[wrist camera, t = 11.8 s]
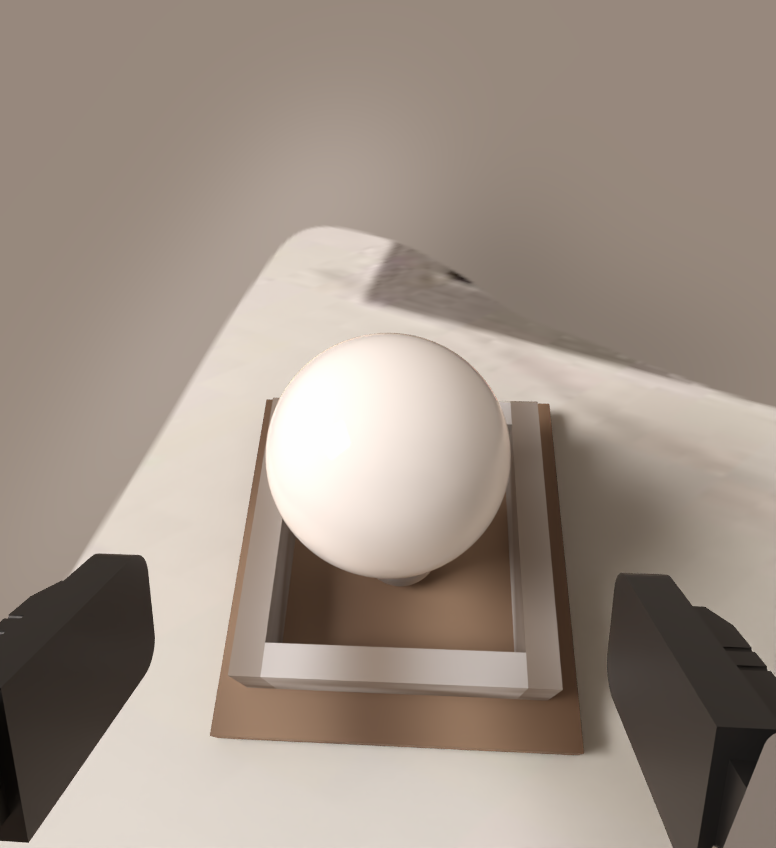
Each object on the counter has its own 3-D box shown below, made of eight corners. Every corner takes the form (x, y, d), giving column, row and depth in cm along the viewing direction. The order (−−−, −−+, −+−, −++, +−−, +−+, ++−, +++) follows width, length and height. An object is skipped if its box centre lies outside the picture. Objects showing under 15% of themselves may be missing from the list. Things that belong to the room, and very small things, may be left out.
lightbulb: (454, 674, 21) (471, 566, 12) (286, 605, 23) (181, 460, 13) (509, 509, 24) (558, 317, 15) (357, 458, 26) (313, 255, 16)
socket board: (545, 416, 27) (560, 369, 24) (577, 755, 21) (604, 748, 18) (271, 411, 28) (253, 365, 25) (218, 738, 21) (185, 728, 18)
